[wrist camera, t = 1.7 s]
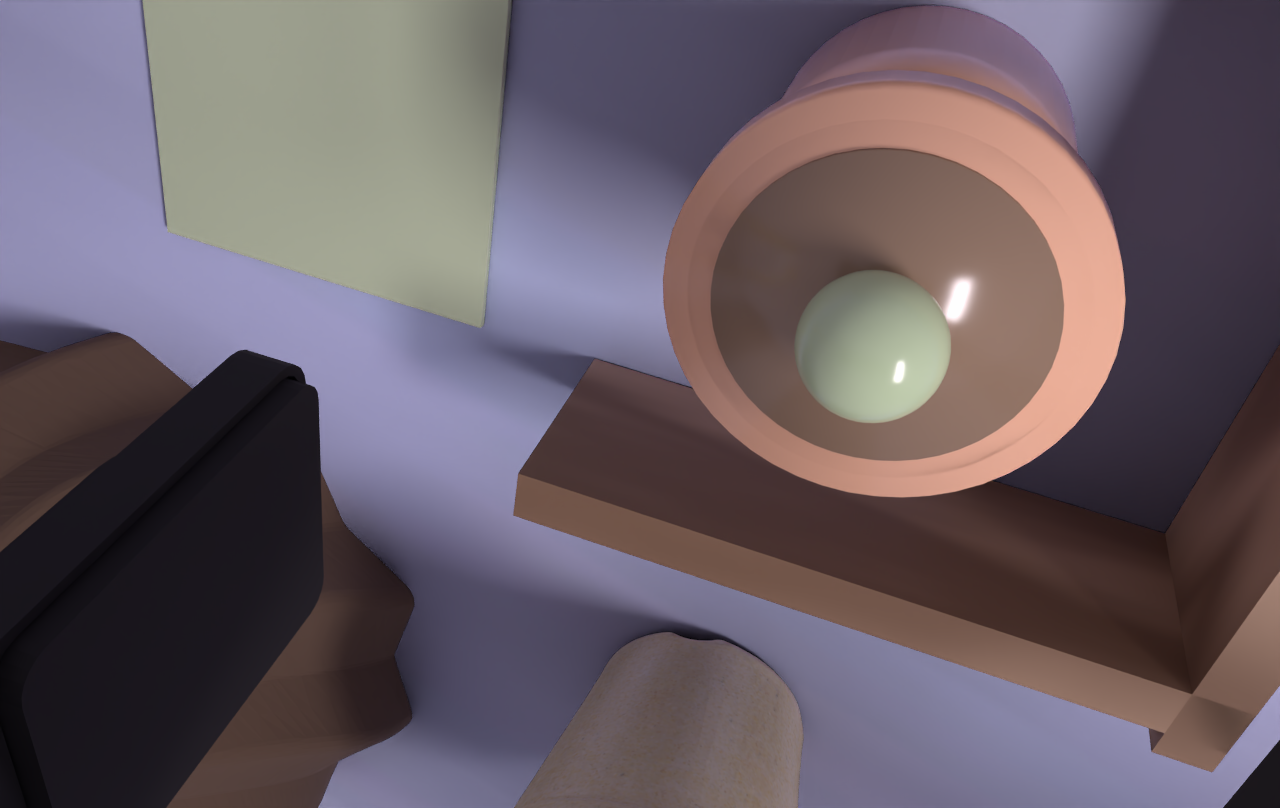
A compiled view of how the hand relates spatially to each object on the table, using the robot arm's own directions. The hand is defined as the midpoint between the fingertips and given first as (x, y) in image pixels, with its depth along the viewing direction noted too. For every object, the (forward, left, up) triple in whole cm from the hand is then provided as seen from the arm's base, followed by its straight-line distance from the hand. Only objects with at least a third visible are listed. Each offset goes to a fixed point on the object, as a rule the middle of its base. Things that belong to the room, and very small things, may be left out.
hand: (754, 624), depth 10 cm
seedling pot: (0, 0, -14) cm, 14 cm away
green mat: (0, +13, -14) cm, 19 cm away
